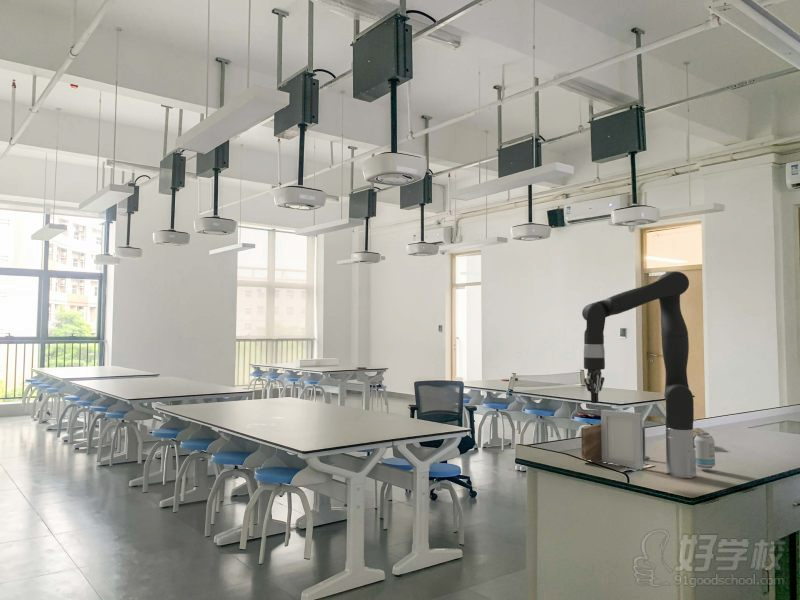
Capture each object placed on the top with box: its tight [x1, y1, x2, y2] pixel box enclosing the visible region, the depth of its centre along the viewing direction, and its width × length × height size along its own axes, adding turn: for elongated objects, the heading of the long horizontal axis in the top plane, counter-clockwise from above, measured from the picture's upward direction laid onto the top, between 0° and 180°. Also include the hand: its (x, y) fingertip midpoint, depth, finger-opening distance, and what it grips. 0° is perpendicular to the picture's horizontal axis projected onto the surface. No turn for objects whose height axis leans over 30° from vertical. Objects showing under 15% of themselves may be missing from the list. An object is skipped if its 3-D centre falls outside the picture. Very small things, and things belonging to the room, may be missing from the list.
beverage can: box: [694, 434, 716, 469], centre depth 231 cm, size 7×7×12 cm
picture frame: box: [600, 409, 644, 471], centre depth 233 cm, size 16×3×21 cm, turn 44°
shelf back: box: [580, 422, 602, 462], centre depth 245 cm, size 2×28×14 cm, turn 138°
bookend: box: [643, 426, 650, 461], centre depth 250 cm, size 12×6×13 cm, turn 48°
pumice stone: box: [693, 427, 710, 446], centre depth 277 cm, size 14×12×8 cm
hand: (594, 402), depth 225 cm, fingers closed
